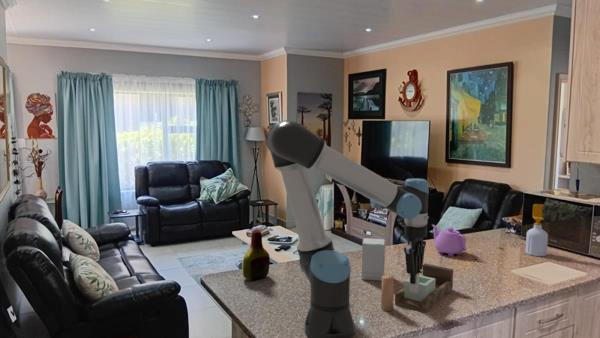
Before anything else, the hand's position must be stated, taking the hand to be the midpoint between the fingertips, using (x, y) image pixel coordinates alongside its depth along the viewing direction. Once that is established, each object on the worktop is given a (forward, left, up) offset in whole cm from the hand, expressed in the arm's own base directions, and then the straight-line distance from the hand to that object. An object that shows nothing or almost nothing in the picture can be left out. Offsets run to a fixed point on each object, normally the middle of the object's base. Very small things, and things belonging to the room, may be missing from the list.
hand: (414, 291), depth 155 cm
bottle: (-14, +61, -5) cm, 63 cm away
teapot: (+70, +13, -5) cm, 72 cm away
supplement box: (+17, +25, -5) cm, 31 cm away
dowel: (-8, +6, -5) cm, 11 cm away
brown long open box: (+10, 0, -5) cm, 12 cm away
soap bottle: (+95, -21, -5) cm, 98 cm away
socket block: (+5, 0, -3) cm, 6 cm away
